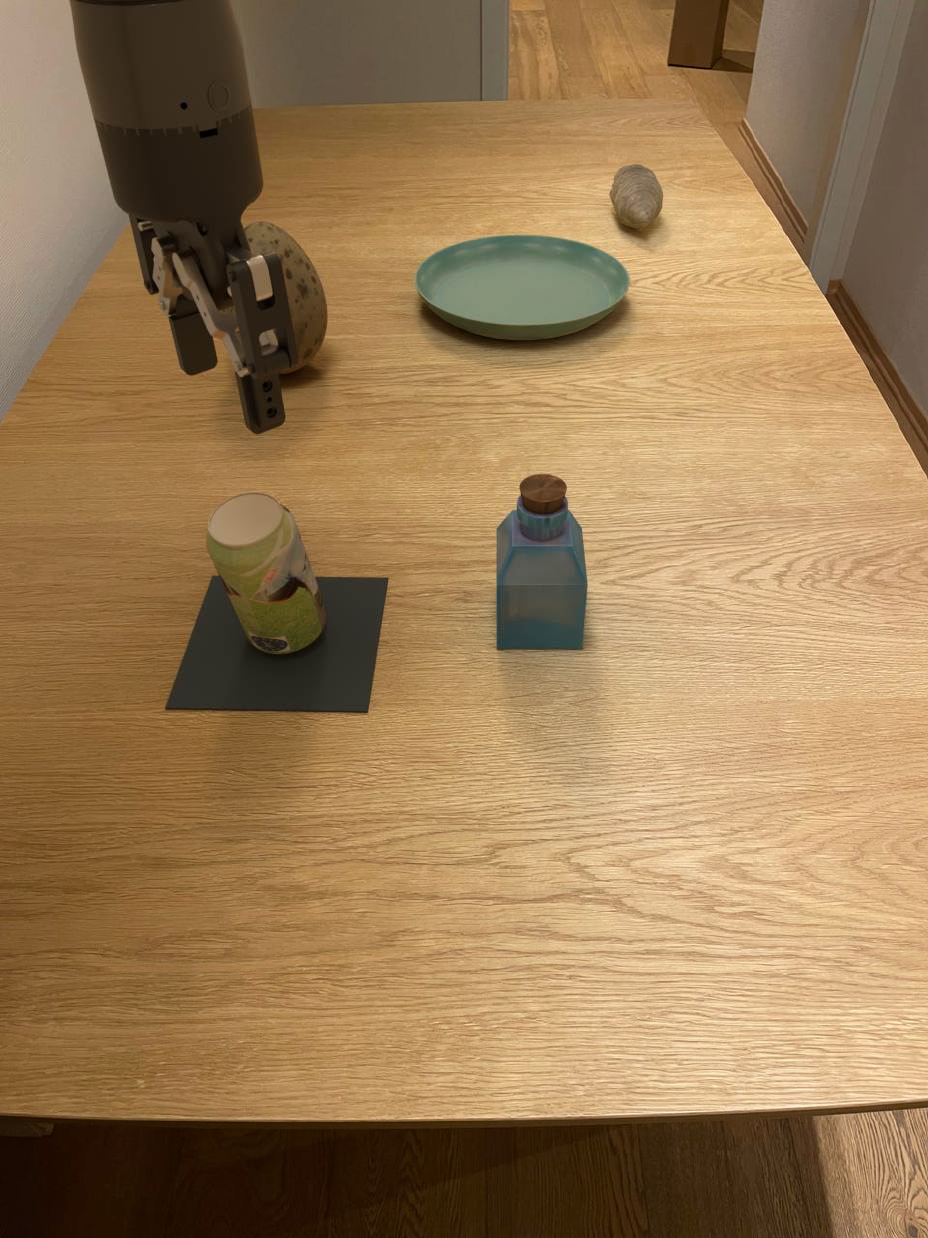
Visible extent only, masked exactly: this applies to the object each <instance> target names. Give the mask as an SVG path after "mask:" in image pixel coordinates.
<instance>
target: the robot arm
mask: <svg viewBox="0 0 928 1238" xmlns="http://www.w3.org/2000/svg"><path fill="white" fill-rule="evenodd" d="M68 2H69V7H70V12H71V17H72V18H71V19H72V25H73V34H74V35H73V36H74V41H75V49H76V53H77V54H76V55H77V58H78V62H79V66H80V71H81V75H82V79H83V82H84V86H85V91H86V94H87V98H88V102H89V106H90V109H91V113H92V117H93V121H94V125H95V128H96V132H97V137H98V141H99V145H100V148H101V149H100V150H101V153H102V156H103V160H104V164H105V168H106V173H107V176H108V179H109V180H108V181H109V185H110V186H111V187H110V188H111V191H112V195H113V199H114V201H115V203H116V205H117V206H118V207H119V209H121V210H122V211H123V212H124V213H125V214H127V215H128V218H129V223H130V227H131V231H132V236H133V241H134V245H135V250H136V254H137V258H138V262H139V267H140V271H141V275H142V279H143V286H144V288H145V290H146V291H147V292H148V294H149V295H150V296H154V295H157V294H158V307H159V308H160V310H161V311H162V313H163V314H164V315H165V316H166V317H167V318H168V322H169V327H170V331H171V334H172V340H173V343H174V347H175V351H176V352H175V353H176V355H177V360H178V364H179V368H180V369H181V371H183V372H184V373H185V374H186V375H188V376H196V375H199V374H201V373H205V372H208V371H210V370H213V369H215V368H216V367H217V365H218V362H219V361H218V354H217V351H216V345H215V340H214V338H215V339H219V340H221V341H222V343H223V346H224V347H225V350H226V352H227V355H228V356H229V359H230V361H231V363H232V366H233V369H234V374H235V380H236V385H237V390H238V394H239V395H238V396H239V399H240V405H241V410H242V414H243V420H244V425H245V427H246V428H247V429H248V430H249V431H250V432H252V433H253V434H254V435H261V434H263V433H266V432H268V431H271V430H273V429H277V428H279V427H282V425H283V424H284V423H285V421H286V418H287V417H286V409H285V405H284V397H283V392H282V386H281V381H280V374H278V372H279V371H281V370H284V369H287V368H291V367H294V366H297V365H298V363H299V358H298V353H297V347H296V341H295V336H294V330H293V324H292V319H291V313H290V307H289V302H288V296H287V290H286V285H285V279H284V273H283V268H282V263H281V260H280V258H279V256H278V255H277V253H276V252H274V251H271V252H268V253H264V254H261V255H260V254H259V255H255V254H254V253H253V250H252V248H251V246H250V243H249V241H248V239H247V237H246V235H245V231H244V225H243V223H242V216H243V214H244V212H245V211H246V209H247V208H248V207H249V206H250V205H251V204H253V203H254V202H256V200H258V198H259V197H260V196H261V194H262V192H263V189H264V176H263V169H262V164H261V157H260V150H259V144H258V143H259V142H258V136H257V131H256V125H255V118H254V117H255V116H254V111H253V105H252V98H251V93H250V92H251V91H250V87H249V79H248V73H247V65H246V59H245V51H244V46H243V41H242V35H241V33H240V28H239V25H238V21H237V17H236V14H235V11H234V7H233V3H232V0H68ZM233 306H234V308H235V313H232V314H229V315H224V314H222V313H220V312H219V311H221V310H224V309H227V308H230V307H233ZM273 329H275V331H276V336H277V339H276V336H275V334H274V332H273ZM237 331H240V336H241V341H242V345H243V347H242V345H241V342H240V340H239V338H238V335H237V333H236V332H237ZM259 340H260V341H259ZM260 342H261V345H262V346H260Z"/></svg>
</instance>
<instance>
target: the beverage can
mask: <svg viewBox="0 0 928 1238" xmlns="http://www.w3.org/2000/svg"><path fill="white" fill-rule="evenodd" d="M207 529H208V530H207V533H206V537H205V546H206V550H207V553H208V555H209V557H210V559H211V561H212V563H213V565H214V568H215V570H216V572H217V574H218V576H220V578H221V581H222V583H223V585H224V587H225V589H226V592H227V594H228V596H229V598H230V600H231V602H232V605H233V607H234V609H235V611H236V613H237V616H238V618H239V620H240V622H241V624H242V626H243V629H244V631H245V633H246V635H247V637H248V639H249V641H250V642H251V644H252V645H253V646H254V647H256V648H257V649H259V650H261V651H263V652H266V653H270V654H287V653H291V652H295V651H298V650H300V649H302V648H304V647H306V646H308V645H309V644H310V643H312V642H313V641H314V640H315V639H316V638H317V637H318V636H319V635H320V633H321V632H322V630H323V629H324V627H325V624H326V620H327V612H326V608H325V605H324V602H323V599H322V596H321V593H320V590H319V587H318V585H317V582H316V579H315V577H316V576H315V573H314V570H313V567H312V563H311V562H310V559H309V556H308V553H307V550H306V548H305V545H304V541H303V538H302V536H301V533H300V530H299V527H298V524H297V521H296V519H295V516H294V514H293V513H292V512H291V511H290V509H288V508H287V507H286V505H284V504H283V503H280V502H279V501H278V499H276V498H275V497H274V496H272V495H270V494H268V493H265V492H260V491H250V492H249V491H248V492H243V493H239V494H236V495H234V496H231V497H229V498H227V499H226V500H224V501H223V502H221V503H220V504H219V505H217V506H216V508H215V509H214V510H213V511H212V513H211V514H210V516H209V518H208V522H207Z"/></svg>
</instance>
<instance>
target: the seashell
mask: <svg viewBox="0 0 928 1238" xmlns="http://www.w3.org/2000/svg"><path fill="white" fill-rule="evenodd" d="M608 195H609V198H610V201H611V204H612V206H613V207H614V210H615V212H616V214H617V216H618V218H619V220H620V222H621V223H622V224H623V225H625V226H626V227H629V228H632V229H643V228H645V227H648V226H649V225H651V224H653V223H654V222H655V221H656V219H657V218H658V217H659V215H660V214H661V211H662V209H663V203H664V202H663V201H664V192H663V187H662V186H661V184H660V182H659V180H658V178H657V176H656V174H655V172H654V171H653V170H651V169H650V168H648V167H646V166H645V165H642V164H638V163H632V164H629V165H628V164H627V165H623V166H621V167H620V168H619V169H618V170H616V172H615V174H614V176H613V182H612V184H611V188H610V191H609V194H608Z"/></svg>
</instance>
